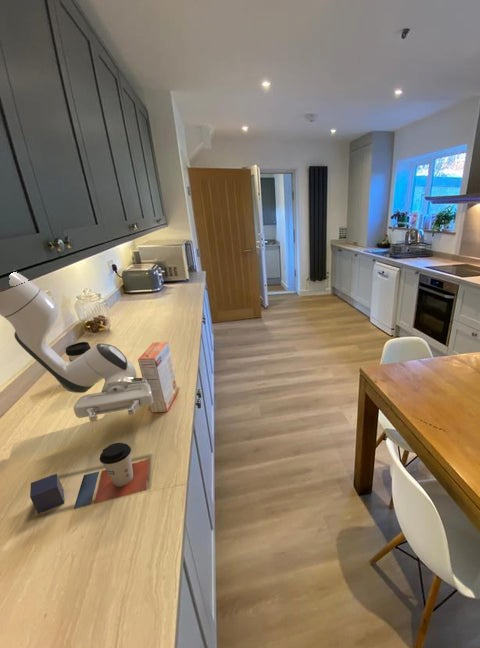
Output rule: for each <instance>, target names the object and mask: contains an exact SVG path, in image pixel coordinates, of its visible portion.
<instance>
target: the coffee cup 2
mask: <svg viewBox="0 0 480 648" xmlns="http://www.w3.org/2000/svg"><path fill="white" fill-rule="evenodd" d="M131 452H132V448H131V446H130V445H129V444H127V443H123V442H114V443H111V444H109V445H107V446H106V447H104V449H102V451H101V453H100V456H99V461H100V463H102V465H103V467H104V468H105V469H104V470H107V472H108V474H109V476H110V478H111V480H112V481H113V483H114V485H115V486H124V485H126V484H128V483H129V482H131V480H132V479H133V469H132V463H133V462H132V453H131Z"/></svg>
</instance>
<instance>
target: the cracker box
mask: <svg viewBox="0 0 480 648" xmlns="http://www.w3.org/2000/svg"><path fill="white" fill-rule="evenodd" d="M137 362H138V366H139V370H140V374H141V378H146V379H147V382H148V384H149V385H150V388H151V392H152V396H153V403H152V404H151V405H149V410H150V413H151V414H152V413H167V412H168V411H169V410H170V408H171V406H172V404H173V401H174V400H175V398H176V395H177V394H178V393H179V388H178V382H177V379H176V374H175V368H174V364H173V357H172V353H171V347H170V343H169V341H164V342H163V341H162V342H159V341H158V342H157V341H156V342H152V343H151V344H150V345H149V347H147V349H146V350H145V351H144V352H143V353H142V355H140V356H139V357H138V358H137Z"/></svg>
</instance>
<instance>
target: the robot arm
mask: <svg viewBox="0 0 480 648" xmlns="http://www.w3.org/2000/svg"><path fill="white" fill-rule="evenodd" d="M17 272H18V271H16V272H13V273H11V274H10V275H9V278H10V280H9V284H10V286H16V285H18V286H16V287H13V288H11V289H8V290H6V291H4V292H0V316H1V317H3V318H4V319H5V320H7V321H8V322H9V323H10V324H11V325H12V327H13V329H14V330H15V332H14V333H13V335H14V338H15V341H16V342H17V343H18V344H19V346H20V347H21V348H22V349H23V350H24V351H25V352H26V353H28V354H29V355H30V356H31V357H32V359H34V360H35V361H36V362H37V363H38V364H39V365H41V366H42V367H43V368H44V369H45V370H47V372H49V373H50V374H51V375H52V376H53V377H54V378H55V379H56V381H57V382H58V383H59V385H61V386H62V388H63V389H65V390H66V391H68V392H70V393H74V394H84V393H86V392H88V391H89V390H91V389H92V387H94V386H95V385H97V384H98V383H99V382H100V381H102V380H104V382H103V386H102V388H101V391H99V392H94V393H88V394H84V395H82V396H80V397H79V398H78V400H76V402H75V403H74V405H73V412H74V415H75V417H76V418H79V419H83V418H88V419H89V422H90V423H93V422H97V421H98V416H99V415H104V414H110V413H115V412H121V411H126V410H127V412H128V416H129V415H130V416H131V415H135V414H136V411H137V410H139V409H140V408H143V407H147V406H149V405H151V404H152V403H153V396H152V392H151V388H150V385H149V384H148V382H147V379H146V378H142V377H137V376H138V375H137V370H136V368H135V366H134V364H133V363H132V362H131V361H129V360H128V359H127V356H125V355H124V353H123V352H122V351H121V350H120V349H119V348H117V347H116V346H115V345H112V344H109V343H102V342H101V343H100V342H99V343H97V344H95V345H94V346H92V347H91V349H89V350H88V351H86V352H85V353H84V354H82V355H81V356H79V357H78V358H76V359H75V360H73V361H71V362H70V361H66V360H64V358H62V357H61V356H60V355H59V354H58V353H57V352H56V351H55V350H54V349H53V348H52V347H51V346H50V345H49V344H48V342H47V341H46V339H47V337H48V335H49V334H50V332H51V331H52V330H53V328H54V326H55V323H56V321H57V319H58V314H59V313H58V312H59V311H58V306H57V303H56V302H55V300H54V299H53V298H52V297H51V296H50V295H49V294H48V293H46V292H45V291H44V290H43V289H42V288H40V287H39V286H38V285H36V284H35V283H34V282H32V281H31V280H30V281H28V280H29V278H27V277H25V275H23V274H21V273H19V272H18V273H17ZM24 282H25V283H24ZM21 283H23V284H21ZM19 284H20V285H19ZM149 407H150V406H149Z"/></svg>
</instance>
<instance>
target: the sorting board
mask: <svg viewBox="0 0 480 648" xmlns="http://www.w3.org/2000/svg"><path fill="white" fill-rule="evenodd" d="M150 463H151V460H150V458H148V459H144V460H140V461H137V462H132V469H133V479H132V480H131V482H129V483H128V484H126V485H124V486H115V485H114V483H113V481H112V480H111V478H110V476H109V474H108V472H107V470H106V469H103V470H101V473H100V471H94V472H91V473H85V474H84V475H83V477H82V479H81V483H80V487H79V490H78V493H77V496H76V500H75V503H74V506H73V509H74V510H75V509H79V508H84V507H86V506H90V505H92V504H98V503H102V502H105V501H109V500H113V499H117V498H121V497H125V496H129V495H132V494H133V495H134V494H136V493H140V492H143V491H146V490H147V486H148V485H147V484H148V483H149V481H150V480H149V479H150ZM99 474H100V476H99ZM98 479H99V481H98ZM97 484H98V486H97ZM96 487H97V490H96ZM95 491H96V493H95ZM94 494H95V498H94ZM93 499H94V502H93Z"/></svg>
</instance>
